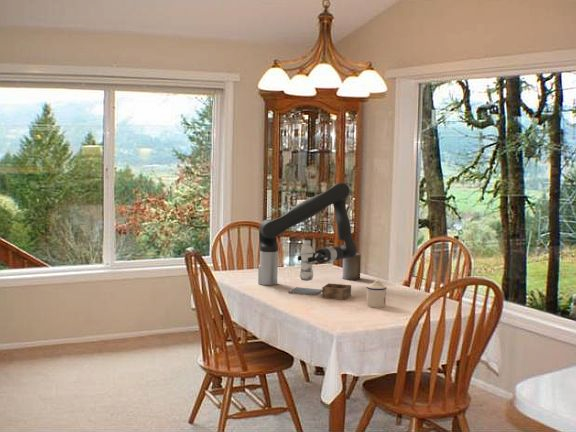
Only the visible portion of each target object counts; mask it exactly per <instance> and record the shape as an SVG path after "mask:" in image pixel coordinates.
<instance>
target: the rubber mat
mask: <svg viewBox="0 0 576 432" xmlns="http://www.w3.org/2000/svg"><path fill="white" fill-rule="evenodd" d="M287 293H288V294H294V295H295V294H296V295H297V294H298V295H307V296H317V295H319V294H320V293H322V289H321V288H320V289H319V288H310V287H309V288H308V287H299V286H296V287H294V288H293V289H290V290H289V291H288V292H287Z"/></svg>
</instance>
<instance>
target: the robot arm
mask: <svg viewBox="0 0 576 432" xmlns="http://www.w3.org/2000/svg"><path fill="white" fill-rule="evenodd" d="M350 193H351V191H350V187H349V185H348V184H347V183H345V182H337V183H335V184H333V185H332V186H331V187H330V188H328V189H327V190H325V191H324V192H321V193H319V194H317V195H314V196H312V197H309V198H308V199H305V200H303V201H301V202H300V203H297V204H295V205H294V206H293V207H292V208H291V209H289V210H288V211H287V212H285V214H283V215H281V216H280V217H277V218H275V219H273V220H272V219H264V220H263V221H261V222H260V225H259V228H258V236H259V237H258V243H259V265H258V274H257V275H258V277H257V279H258V280H257V281H258V282H257V283H258V285H259V284H260V285H262V286H263V285H264V286H275V285H277V284H278V273H279V272H278V267H279V266H278V264H279V262H278V261H279V257H278V256H279V247H278V241H277V240H278V239H277V238H278V236H279V235H281V234H282V233H284V232H285V231H287V230H288V229H290V228H292V227H294V226H296V225H298V224H300V223H302V222H304V221H307V220H309V219H310V218H312V217H314V216H316V215H317V214H319V213H320V212H322V211H323V210H325V209H327V207H329V206H331V205H333V209H334V213H335V214H334V215H335V222H336V230H337V237H338V239H339V240H340V241H343V242H344V244H342V245H338V246H331V247H329V246H328V247H321V248H317V249H316V251H315V252H313V257H310V258H308V262H312V263H318V264H320V265H321V264H325V263H330V262H332V263H333V262H334V261H339V260H343V259H344V258H352V257H355V255H356V253H358V252H357V249H358V248H357V246H356V243H355V240H354V238H353V235H352V228H351V223H350V219H349V215H348V212H347V205H346V204H347V203H346V202H347V201H346V199H347V198H348V197H349V195H350ZM297 261H301V255H297Z"/></svg>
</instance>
